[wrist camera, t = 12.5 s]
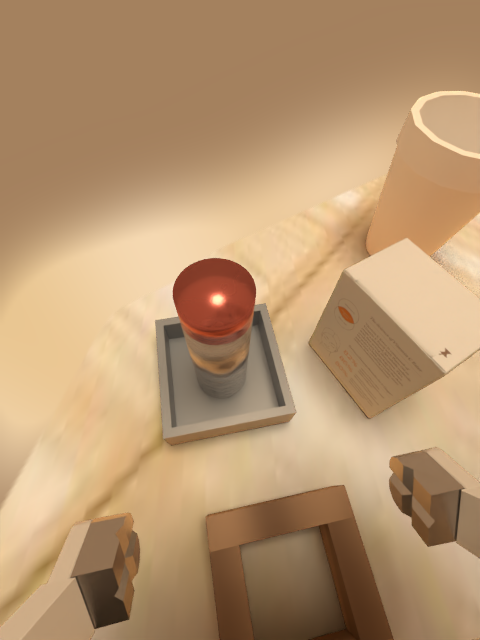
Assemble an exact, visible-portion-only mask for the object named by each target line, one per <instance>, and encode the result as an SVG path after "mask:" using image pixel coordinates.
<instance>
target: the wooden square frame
mask: <svg viewBox="0 0 480 640" xmlns="http://www.w3.org/2000/svg"><path fill="white" fill-rule="evenodd" d="M206 525H207V534H208V542H209V551H210V559H211V568H212V576H213V585H214V593H215V602H216V610H217V619H218V627H219V636H220V640H254V636H253V630H252V623H251V617H250V611H249V604H248V598H247V591H246V585H245V579H244V572H243V566H242V560H241V553H240V547H239V545H241V544H246V543H250V542H254V541H258V540H262V539H266V538H270V537H274V536H278V535H282V534H286V533H290V532H294V531H299V530H303V529H307V528H311V527H315V526H319V528H320V532H321V535H322V539H323V543H324V546H325V550H326V554H327V558H328V561H329V565H330V569H331V573H332V576H333V580H334V584H335V587H336V591H337V595H338V599H339V602H340V606H341V610H342V613H343V617H344V621H345V625H346V628H347V629H344V630H340V631H337V632H333V633H330V634H326V635H323V636H319V637H316V638H313V639H309V640H394V639H393V636H392V633H391V630H390V627H389V623H388V620H387V617H386V614H385V611H384V608H383V605H382V602H381V598H380V595H379V592H378V589H377V586H376V583H375V580H374V577H373V573H372V570H371V567H370V564H369V561H368V558H367V555H366V552H365V548H364V545H363V542H362V539H361V536H360V533H359V530H358V527H357V523H356V520H355V517H354V514H353V511H352V508H351V505H350V502H349V498H348V495H347V492H346V489H345V486H344V485H339V486H331V487H326V488H322V489H318V490H313V491H309V492H305V493H300V494H296V495H292V496H287V497H283V498H279V499H274V500H270V501H266V502H261V503H257V504H253V505H248V506H244V507H240V508H235V509H231V510H227V511H222V512H218V513H214V514H209V515H207V516H206Z"/></svg>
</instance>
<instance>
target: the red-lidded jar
mask: <svg viewBox="0 0 480 640" xmlns="http://www.w3.org/2000/svg"><path fill="white" fill-rule="evenodd" d="M255 297H256V286H255V283H254V280H253V278H252V276H251V275H250V273H249V272H248V271H247V270H246V269H245V268H244V267H242V266H241V265H239V264H237V263H235V262H233V261H230V260H226V259H220V258H211V259H204V260H201V261H198V262H196V263H193V264H191V265H190V266H188V267H187V268H185V269H184V270H183V271H182V272H181V273H180V275H179V276H178V278H177V279H176V281H175V283H174V287H173V300H174V303H175V307H176V310H177V313H178V316H179V320H180V323H181V326H182V330H183V333H184V336H185V340H186V343H187V346H188V350H189V353H190V356H191V359H192V363H193V366H194V369H195V373H196V376H197V379H198V382H199V385H200V387H201V389H202V390H203V391H204V392H205V393H206V394H208V395H209V396H211V397H214V398H219V399H223V398H228V397H231V396H233V395H235V394H236V393H238V392H239V391H240V390H241V388H242V387H243V385H244V383H245V379H246V372H247V363H248V355H249V347H250V339H251V330H252V322H253V314H254V306H255Z"/></svg>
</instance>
